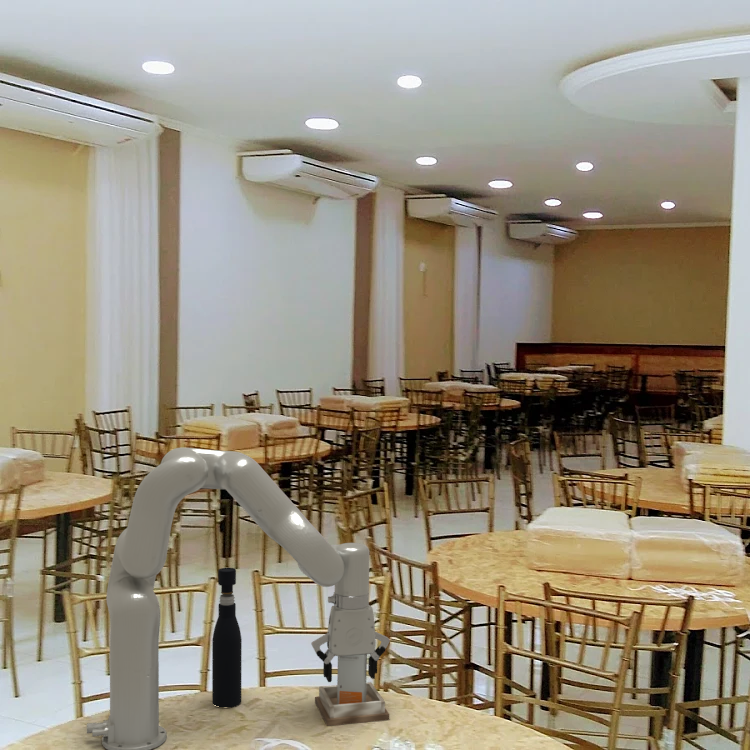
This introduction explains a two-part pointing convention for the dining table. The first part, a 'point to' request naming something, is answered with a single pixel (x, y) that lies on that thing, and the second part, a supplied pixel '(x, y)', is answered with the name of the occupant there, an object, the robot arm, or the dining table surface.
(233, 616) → the black water bottle
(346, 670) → the skincare box
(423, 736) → the dining table surface
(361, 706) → the square brown tray
